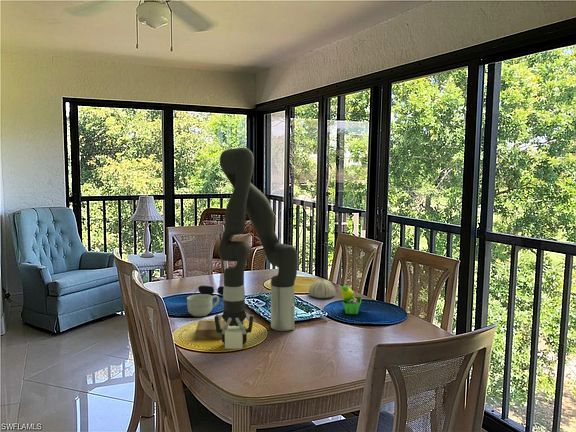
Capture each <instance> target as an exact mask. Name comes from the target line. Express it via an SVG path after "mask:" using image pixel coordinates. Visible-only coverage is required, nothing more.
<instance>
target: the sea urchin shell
mask: <svg viewBox="0 0 576 432" xmlns="http://www.w3.org/2000/svg"><path fill="white" fill-rule="evenodd" d="M336 292H337V291H336V287H335V286H334V285H333V283H332V282H330V281H329V280H327V279H317V280H315V281H314V282H313V283H312V284H311V285H310V286H309V288H308V294H309V296H310V297H313V298H317V299H328V298H329V299H330V298H332V297H334V296H335V294H336Z"/></svg>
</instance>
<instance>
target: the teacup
mask: <svg viewBox="0 0 576 432" xmlns="http://www.w3.org/2000/svg"><path fill="white" fill-rule="evenodd" d="M214 299H216V302H214V303H213V300H214ZM219 302H220V297H219V296H218V295H217V294H216V295H215V294H214V295H212V294H201V293H199V294H194V295H193V294H192V295H188V296H187V297H186V303H187V311H188V313H189V314H190V315H191V316H193V317H205V316H208V315H209V313H211V312H212V310H213V308H214V307H215V306H217V305H218V304H219Z"/></svg>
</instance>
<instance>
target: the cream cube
mask: <svg viewBox="0 0 576 432" xmlns="http://www.w3.org/2000/svg"><path fill="white" fill-rule="evenodd" d="M243 346H244V344H243V330H241V329H240V327H239V326H228V328H227V330H225V344H224V349H237V350H238V349H243Z"/></svg>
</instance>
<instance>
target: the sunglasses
mask: <svg viewBox="0 0 576 432" xmlns="http://www.w3.org/2000/svg"><path fill="white" fill-rule="evenodd" d="M223 289H224V285H221V286H220V285H219V286H218V287H217V289H216V288H214V287H213V286H211V285H206V284H205V285H199V286H198V287H197V288H196V290H195V291H194V293H193V294H192V295H196V292H197V291H198V292H199V294H208V295H213V294H214V293H215V290H216V292H217V293H218V295H222V296H223Z"/></svg>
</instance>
